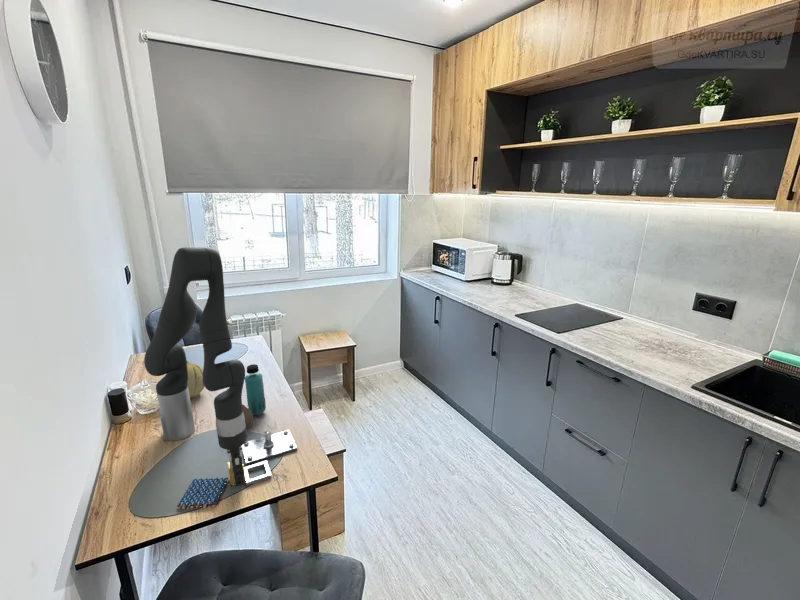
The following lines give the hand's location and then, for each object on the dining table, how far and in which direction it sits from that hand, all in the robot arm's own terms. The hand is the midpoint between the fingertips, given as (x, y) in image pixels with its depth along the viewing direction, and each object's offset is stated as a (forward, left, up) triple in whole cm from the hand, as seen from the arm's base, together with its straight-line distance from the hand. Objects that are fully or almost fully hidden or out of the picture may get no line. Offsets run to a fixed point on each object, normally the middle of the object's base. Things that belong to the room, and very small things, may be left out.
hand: (237, 475), depth 113 cm
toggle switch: (+11, +11, -2) cm, 16 cm away
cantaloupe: (-12, +60, -2) cm, 61 cm away
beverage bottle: (+11, +34, -2) cm, 36 cm away
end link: (+3, 0, -2) cm, 4 cm away
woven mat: (-9, -1, -3) cm, 10 cm away
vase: (+5, +27, -2) cm, 28 cm away
